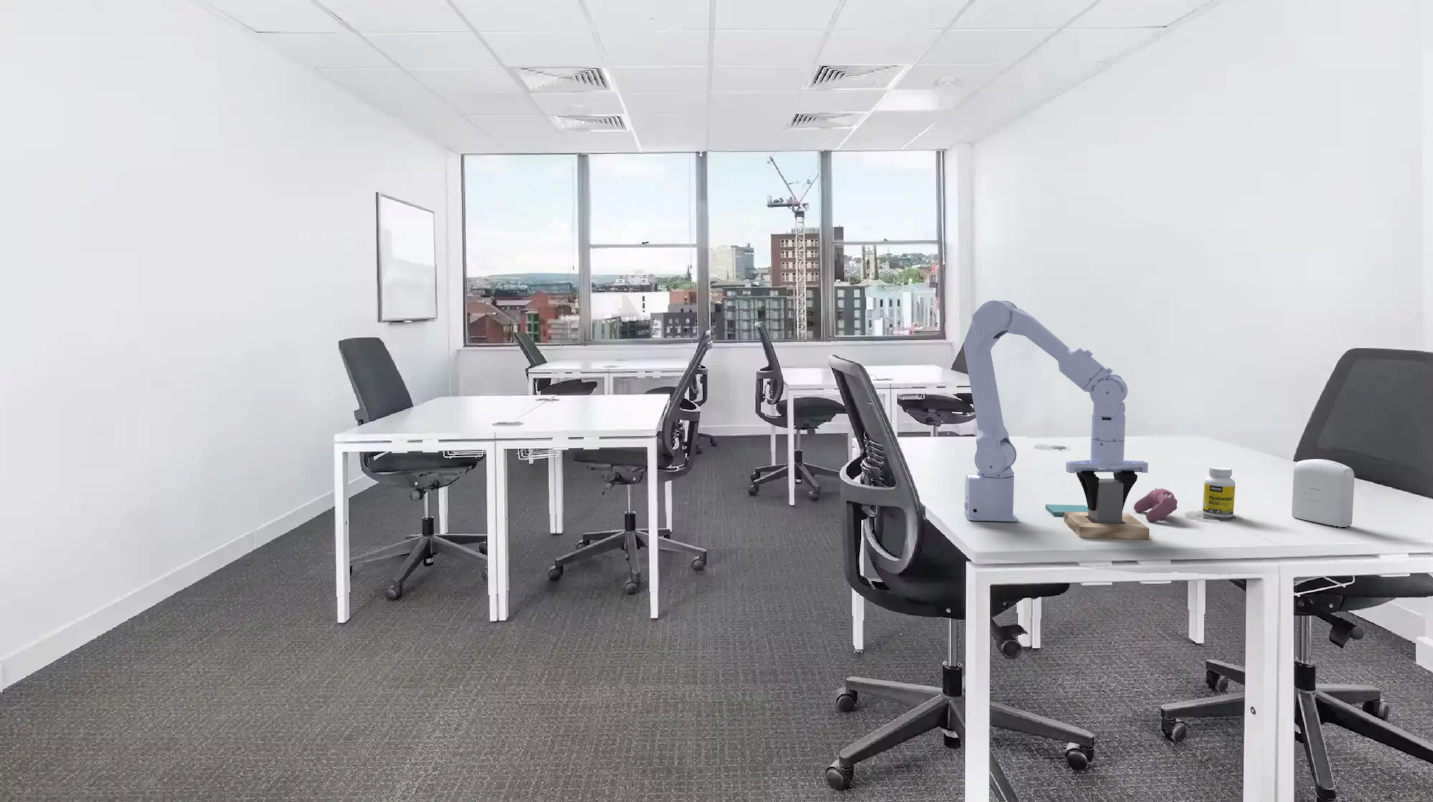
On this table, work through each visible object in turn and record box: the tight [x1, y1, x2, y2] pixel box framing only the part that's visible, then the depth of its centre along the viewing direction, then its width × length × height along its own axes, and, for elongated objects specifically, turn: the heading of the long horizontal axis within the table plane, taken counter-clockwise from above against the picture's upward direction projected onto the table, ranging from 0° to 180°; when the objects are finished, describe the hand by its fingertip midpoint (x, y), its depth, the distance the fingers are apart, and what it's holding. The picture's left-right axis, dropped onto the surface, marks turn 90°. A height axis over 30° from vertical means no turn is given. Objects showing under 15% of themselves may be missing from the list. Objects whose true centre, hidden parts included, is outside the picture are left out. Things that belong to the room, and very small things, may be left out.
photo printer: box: [1291, 458, 1355, 528], centre depth 161 cm, size 10×4×12 cm, turn 20°
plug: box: [1088, 478, 1124, 524], centre depth 158 cm, size 4×4×9 cm
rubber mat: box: [1044, 504, 1088, 517], centre depth 173 cm, size 8×7×1 cm
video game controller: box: [1133, 487, 1178, 523], centre depth 168 cm, size 10×5×7 cm, turn 169°
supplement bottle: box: [1202, 465, 1236, 519], centre depth 168 cm, size 5×5×10 cm
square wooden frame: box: [1063, 512, 1150, 540], centre depth 158 cm, size 12×12×2 cm
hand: (1105, 509), depth 158 cm, fingers closed on plug, 4 cm apart
